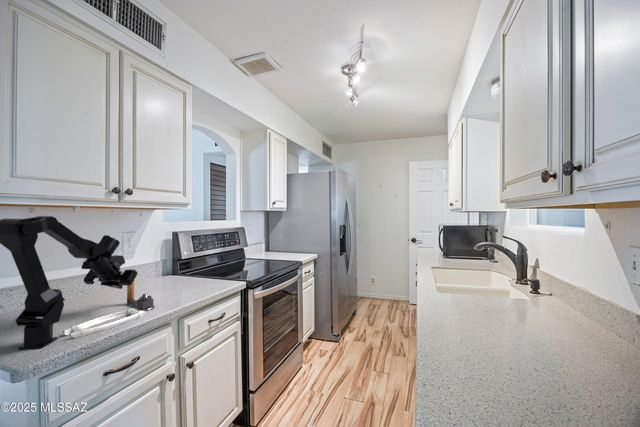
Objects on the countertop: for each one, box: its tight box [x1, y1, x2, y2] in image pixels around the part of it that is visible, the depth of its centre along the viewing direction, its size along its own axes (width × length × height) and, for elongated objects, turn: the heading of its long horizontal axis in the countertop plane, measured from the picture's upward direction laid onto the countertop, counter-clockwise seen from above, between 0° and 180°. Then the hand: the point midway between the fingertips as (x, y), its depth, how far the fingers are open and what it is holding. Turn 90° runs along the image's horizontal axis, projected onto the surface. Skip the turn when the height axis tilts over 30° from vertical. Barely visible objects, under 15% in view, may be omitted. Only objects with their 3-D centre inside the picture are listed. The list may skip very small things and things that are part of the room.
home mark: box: [126, 304, 137, 308], centre depth 125 cm, size 3×3×1 cm
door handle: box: [62, 307, 147, 339], centre depth 104 cm, size 3×10×25 cm
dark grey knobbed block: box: [134, 293, 156, 312], centre depth 121 cm, size 7×7×6 cm
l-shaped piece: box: [126, 268, 154, 309], centre depth 123 cm, size 15×4×15 cm, turn 61°
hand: (121, 287), depth 122 cm, fingers closed
